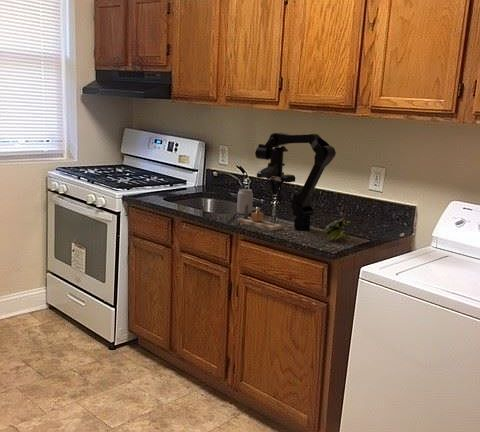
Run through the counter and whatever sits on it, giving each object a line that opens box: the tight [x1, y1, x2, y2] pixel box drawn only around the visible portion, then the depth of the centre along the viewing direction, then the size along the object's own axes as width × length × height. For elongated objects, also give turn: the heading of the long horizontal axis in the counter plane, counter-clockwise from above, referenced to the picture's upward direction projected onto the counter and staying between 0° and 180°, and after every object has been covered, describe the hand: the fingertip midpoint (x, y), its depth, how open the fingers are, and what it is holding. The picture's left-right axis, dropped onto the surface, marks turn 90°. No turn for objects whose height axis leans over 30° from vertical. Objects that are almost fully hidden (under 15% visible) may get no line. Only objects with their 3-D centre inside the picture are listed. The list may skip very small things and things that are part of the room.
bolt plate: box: [236, 204, 283, 232], centre depth 243 cm, size 21×7×8 cm, turn 46°
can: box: [236, 188, 254, 215], centre depth 268 cm, size 8×8×12 cm
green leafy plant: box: [324, 216, 352, 243], centre depth 223 cm, size 11×11×12 cm
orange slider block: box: [250, 206, 264, 222], centre depth 244 cm, size 4×4×6 cm
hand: (274, 195), depth 247 cm, fingers closed
